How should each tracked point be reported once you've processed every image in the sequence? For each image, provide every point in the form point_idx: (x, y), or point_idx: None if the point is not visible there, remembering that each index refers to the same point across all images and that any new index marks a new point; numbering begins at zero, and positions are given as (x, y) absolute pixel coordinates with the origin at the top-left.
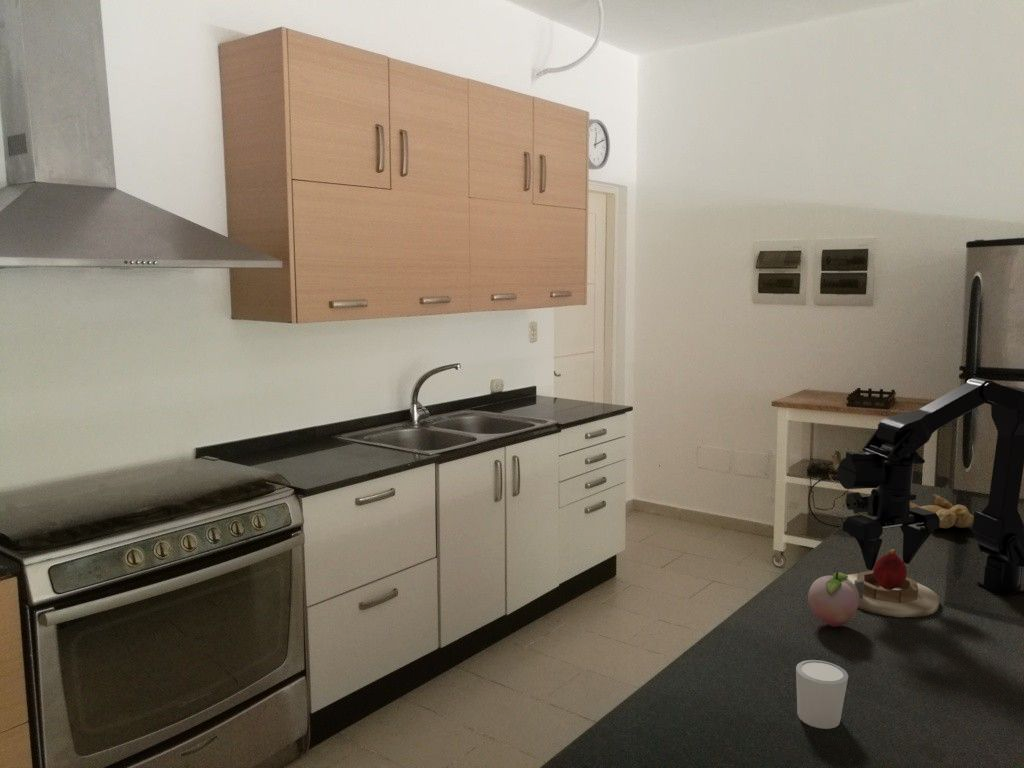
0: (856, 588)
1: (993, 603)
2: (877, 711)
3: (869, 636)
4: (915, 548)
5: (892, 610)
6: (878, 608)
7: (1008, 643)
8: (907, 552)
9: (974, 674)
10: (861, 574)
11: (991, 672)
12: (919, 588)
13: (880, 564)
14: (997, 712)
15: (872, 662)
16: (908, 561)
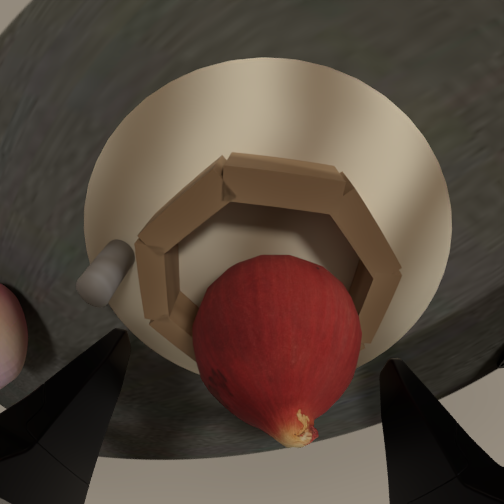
0: (1, 386)
1: (449, 377)
2: (15, 398)
3: (59, 349)
4: (388, 470)
5: (157, 351)
6: (129, 327)
7: (278, 445)
8: (397, 421)
9: (145, 442)
10: (220, 190)
11: (170, 449)
12: (397, 307)
13: (199, 364)
14: (114, 452)
15: (35, 376)
16: (380, 389)
